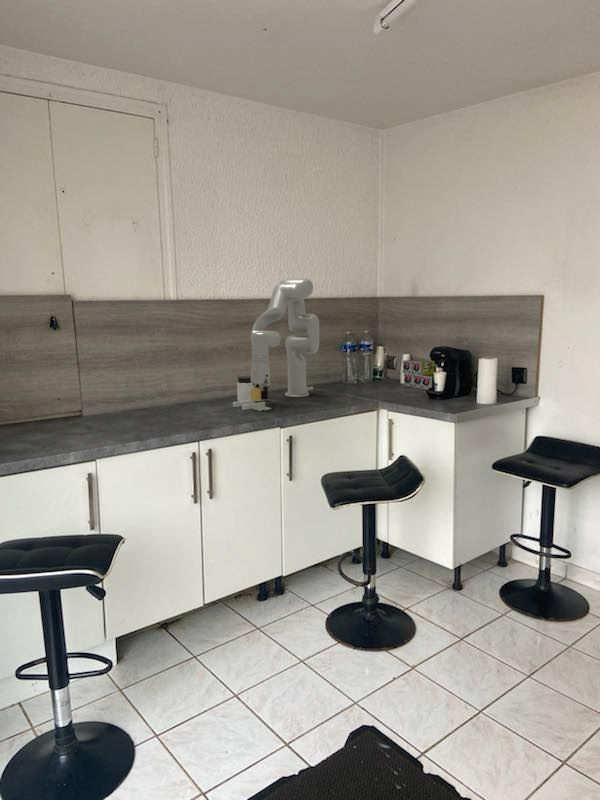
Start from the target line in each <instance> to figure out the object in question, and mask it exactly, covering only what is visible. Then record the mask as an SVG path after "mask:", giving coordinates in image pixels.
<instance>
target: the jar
mask: <svg viewBox="0 0 600 800" xmlns="http://www.w3.org/2000/svg"><path fill="white" fill-rule="evenodd" d="M250 388H254V386H253V384H252V382H251V375H240V376H237V383H236V391H237V395H236V397H237V402H238V401H245V400H251V391H250Z"/></svg>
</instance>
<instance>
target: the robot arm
mask: <svg viewBox="0 0 600 800" xmlns="http://www.w3.org/2000/svg"><path fill="white" fill-rule="evenodd" d="M313 291H314V284H313V281H312V280H311V279H309V278H286V279H282V280H281V281H280V282H279V283H278V284H276V285H275V286H274V288H273V291H272V294H271V298H270V301H269V304H268V307H267V310H265V311H264V312H263V313H262V314H261V315H260V316H259V317H258V318H257V319H256V320H255V322H254V323H253V326H252V328H251V332H250V333H251V334H250V342H251V364H250V376H251V382H252V384H253V386H254V387H262V391H261V399H262V401H263V400H264V399H266V400H269V399H268V397H269V395H268V392H269V388H270V386H271V385H272V383H271V373H270V372H271V370H270V365H269V364H270V363H269V361H270V359H269V357H270V356H269V355H270V354H269V351H270V349H269V348H276V347H278V346H279V345H280V344H281V342H282V337H281V336H282V335H281V334H280V333H279V332H278V331H277V330H264V329H265V328H266V327H267V326H268V325H271V324H272V323H275V322H277V321H279V320H281V319H283V318H284V317H285V314H286V311H287V308H288V312H287V313H288V314H287V316H288V317H287V318H288V321H287V322H288V330H290V331H291V332H292V333H293V332H295V333H307V334H290V335H289V336H287V337H286V339H285V342H284V343H285V345H284V346H285V350H286V357H287V392H285V393H284V396H285V397H288V398H305V397H308V396H310V393H309V391H313V390H314V387H313V386H307V361H306V359H305V357H304V355H303V354H305V355H314V354H316V353H318V351H319V349H320V320H319V318H318V317H319V316H318V315H316V314H314V313H306V303H305V301H304V300H305V299H306V298H308V297H310V296H311V295H312V293H313Z"/></svg>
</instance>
